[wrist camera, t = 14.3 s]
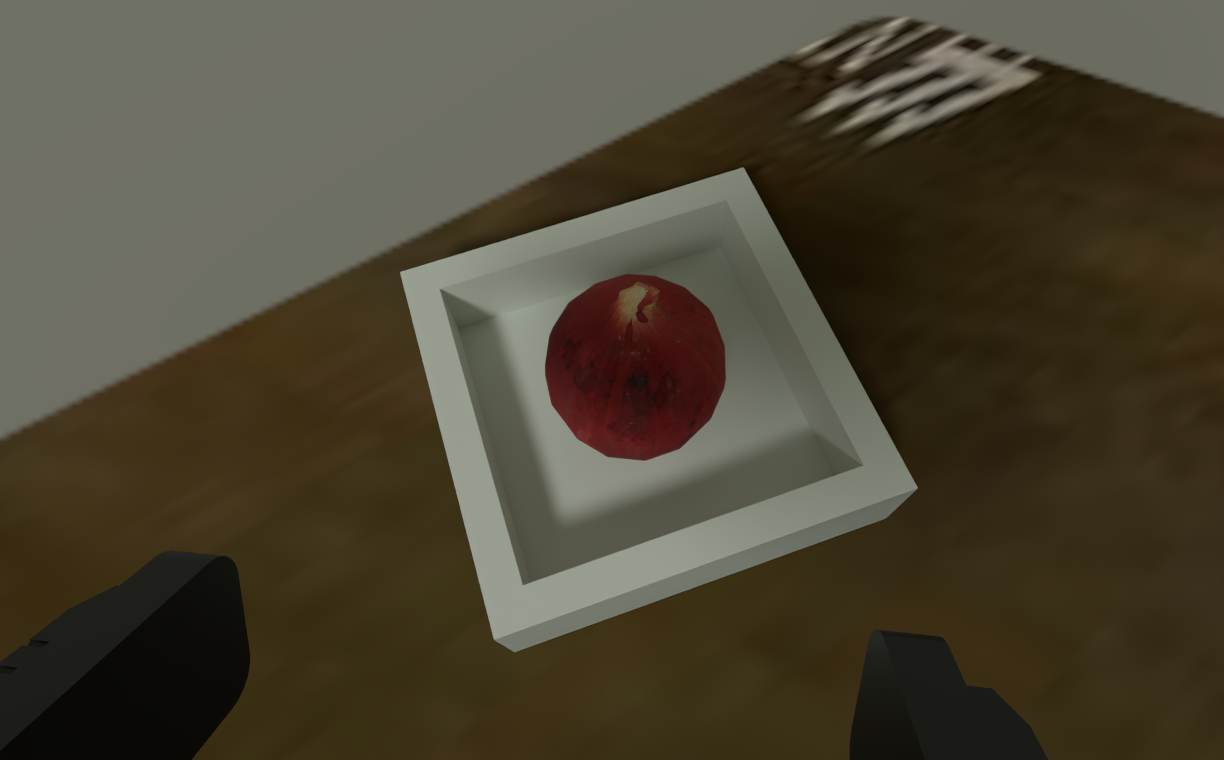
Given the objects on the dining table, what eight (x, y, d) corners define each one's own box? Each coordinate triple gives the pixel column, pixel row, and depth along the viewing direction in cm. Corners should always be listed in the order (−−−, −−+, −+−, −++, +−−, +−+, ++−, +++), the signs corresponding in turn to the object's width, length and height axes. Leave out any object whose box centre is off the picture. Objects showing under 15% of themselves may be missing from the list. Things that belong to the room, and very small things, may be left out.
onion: (712, 493, 26) (741, 406, 19) (548, 481, 26) (513, 391, 19) (717, 344, 28) (743, 216, 21) (566, 335, 29) (542, 205, 22)
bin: (734, 224, 32) (743, 167, 28) (885, 518, 26) (917, 488, 23) (426, 320, 30) (400, 272, 27) (514, 652, 25) (494, 639, 21)
